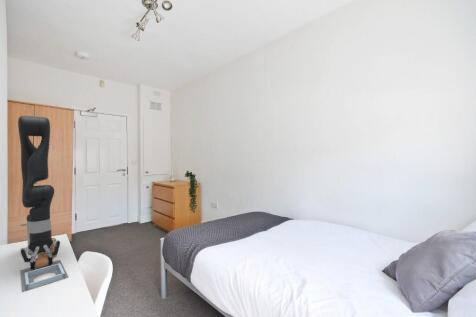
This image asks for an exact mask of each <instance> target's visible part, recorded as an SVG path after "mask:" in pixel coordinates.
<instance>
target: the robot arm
mask: <svg viewBox="0 0 476 317" xmlns="http://www.w3.org/2000/svg"><path fill="white" fill-rule="evenodd" d="M17 128H18V134H19V141H20V164H21V165H20V168H21V170H20V171H21V176H22V177H21V178H22V190H21V191H22V194H21V202H22V205H23V207H24V208H27V209H29V208H30V209H29V214H28V215H26V229H27V230H26V233H27V234H26V235H27V238H26V239H27V246H26V247H24V248H23V247H22V248H20V250H19V251H20V255H21V256H22V260H23V261H24V263H29V266H30V267H29V268H30V269H31V270H32V269H33V270H35V260H36V257H37V254H39V253H41V252H47V254H48V255H49V257H48V259H49V262H48V263H49V266H51V264H52V263H53V261H54V258H53V256H54V255H58V252H59V250H60V244H61V241H60V240H59V239H58V240H56V241H53V240H52V238H53V237H52V222H51V204H52V201H53V199H54V198H53V197H54V195H55V188H54V186H52V185H51V184H44V185H42V184H41V185H35V184H36V183H37V182H38V183H39V182H42V181H46V180H48V178H49V163H48V162H49V150H50V143H51V142H50V139H51V124H50V119H49V118H48V117H44V116H35V115H32V116H31V115H30V116H29V115H20V116H19V117H18V121H17ZM30 137H41V139H40V142H39V145H38V146H35V145H34V144H33V142H32V141H31V138H30ZM52 244H54V246H55V249H54V252H53V253H51V251H50V250H49V248H50V247H51V245H52ZM27 254H28V255H31V256H30V257H29V258H28V255H27Z"/></svg>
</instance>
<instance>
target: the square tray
mask: <svg viewBox="0 0 476 317" xmlns="http://www.w3.org/2000/svg"><path fill="white" fill-rule="evenodd" d="M55 269H59V272H60V274H59V275H56V274H55V273H48V274H44V275H41V276H38V277H37V278H35V279H34V280H33V281H34V282H32V283H29V280H28V277H31V276H34V275H38V274H41V273H45V272H48V271H52V270H55ZM61 279H62V280H66V279H65V272H64V270H63V268H62V266H61V264H60V263H58V264H54V265H51V266H47V267H44V268H40V269H36V270H33V271H29V272H25V283H26V291H25V292H27V290H28V291H31V290H34V289H37V288H40V287H43V285H44V286H47V285H50V284H52V282H53V283H55V281H56V282H59V281H62V280H61ZM58 280H59V281H58ZM49 283H50V284H49ZM46 284H47V285H46ZM39 286H40V287H39ZM36 287H37V288H36ZM33 288H34V289H33ZM30 289H31V290H30Z"/></svg>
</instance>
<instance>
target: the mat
mask: <svg viewBox="0 0 476 317" xmlns="http://www.w3.org/2000/svg"><path fill="white" fill-rule="evenodd" d="M58 263H60V264H61V266H62V268H63V270H64V272H65V279H64V280H66V279H69V275H68V273H67V271H66V269H65V266H64V265H63V262H62V260H61V259H57V260H53V263H52V264H51V265H54V264H58ZM47 266H49V263H48V264H47V265H46V266H45V267H47ZM43 268H44V267H43ZM36 269H40V268H37V267H35V270H36ZM29 271H33V269H32V270H31V269H30V267H27V268H24V269H21V270H20V271H19V272H20V284H21V285H20V286H21V293H25V292H27V291H31V290H34V289H37V288H40V287H41V286H39V287H36V288H33V289H30V290H27V291H26V283H25V272H29ZM48 273H55V274H56V275H59V274H60V272H59V269H55V270H52V271H48V272H45V273H41V274H38V275H34V276H31V277H28V280H29V283H32V282H34V281H33V280H34V279H35V278H37V277H38V276H41V275H44V274H48ZM62 280H63V279H61V280H58V281H55V282H59V281H62ZM55 282H52V283H55ZM52 283H49V284H46V285H43V286H47V285H50V284H52ZM43 286H42V287H43Z"/></svg>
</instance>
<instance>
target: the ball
mask: <svg viewBox="0 0 476 317" xmlns="http://www.w3.org/2000/svg"><path fill="white" fill-rule="evenodd" d="M34 261H35V267H37V268H43V267H45V266H46V265H47V264H48V262H49V259H48V257H46V256H41V257H38V258H35V259H34Z"/></svg>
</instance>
